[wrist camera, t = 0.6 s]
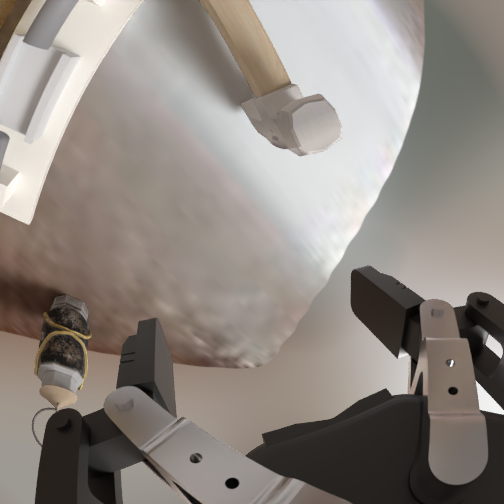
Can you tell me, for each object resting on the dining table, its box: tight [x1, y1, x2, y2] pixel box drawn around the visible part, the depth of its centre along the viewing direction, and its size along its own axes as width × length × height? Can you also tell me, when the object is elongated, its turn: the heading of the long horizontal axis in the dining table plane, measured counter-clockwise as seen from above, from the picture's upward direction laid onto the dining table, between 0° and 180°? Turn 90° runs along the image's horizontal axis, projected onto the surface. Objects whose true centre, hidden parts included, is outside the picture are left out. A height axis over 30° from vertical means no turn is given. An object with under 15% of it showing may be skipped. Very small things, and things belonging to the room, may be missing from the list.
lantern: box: [32, 295, 92, 447], centre depth 34 cm, size 9×8×25 cm
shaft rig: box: [0, 0, 144, 225], centre depth 21 cm, size 12×34×8 cm, turn 142°
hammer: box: [199, 0, 342, 156], centre depth 22 cm, size 16×5×30 cm
